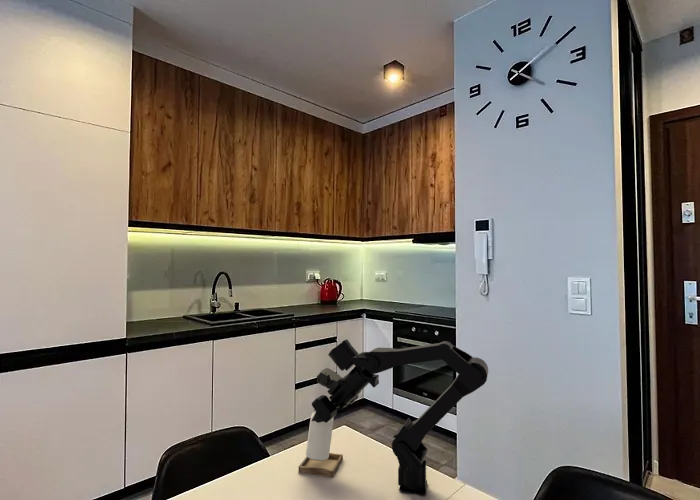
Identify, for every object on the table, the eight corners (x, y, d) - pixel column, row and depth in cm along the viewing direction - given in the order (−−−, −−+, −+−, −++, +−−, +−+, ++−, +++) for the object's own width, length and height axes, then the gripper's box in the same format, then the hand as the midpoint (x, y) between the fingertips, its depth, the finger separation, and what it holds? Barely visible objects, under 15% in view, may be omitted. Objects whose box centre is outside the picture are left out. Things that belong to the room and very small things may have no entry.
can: (326, 462, 101) (332, 415, 104) (303, 458, 102) (309, 411, 105) (330, 455, 108) (336, 410, 110) (308, 451, 109) (314, 407, 111)
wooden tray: (342, 459, 110) (342, 454, 111) (332, 477, 101) (332, 471, 101) (311, 455, 113) (311, 450, 113) (298, 472, 103) (298, 466, 104)
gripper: (348, 354, 116) (316, 386, 119) (318, 368, 99) (282, 405, 102) (373, 383, 112) (339, 416, 116) (346, 403, 95) (307, 441, 99)
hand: (318, 418), depth 108 cm, fingers closed on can, 6 cm apart
